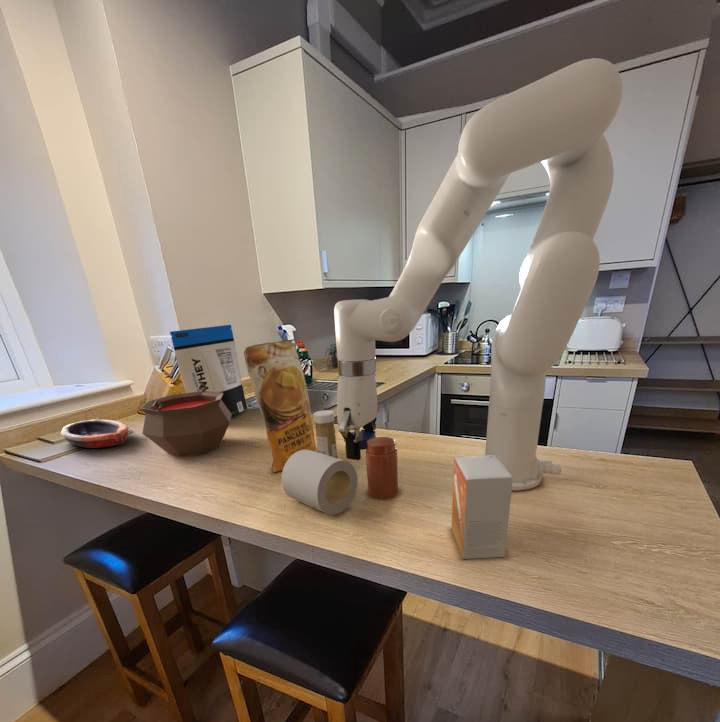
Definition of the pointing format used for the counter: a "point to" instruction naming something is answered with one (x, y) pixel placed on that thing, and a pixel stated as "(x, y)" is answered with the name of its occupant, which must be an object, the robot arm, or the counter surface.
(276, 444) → the pancake mix bag
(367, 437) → the lid
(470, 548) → the small box
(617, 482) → the counter surface
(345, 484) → the toilet paper
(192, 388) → the protein powder
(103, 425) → the dish
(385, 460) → the jar
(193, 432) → the brown faceted pot
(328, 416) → the sprinkles bottle
